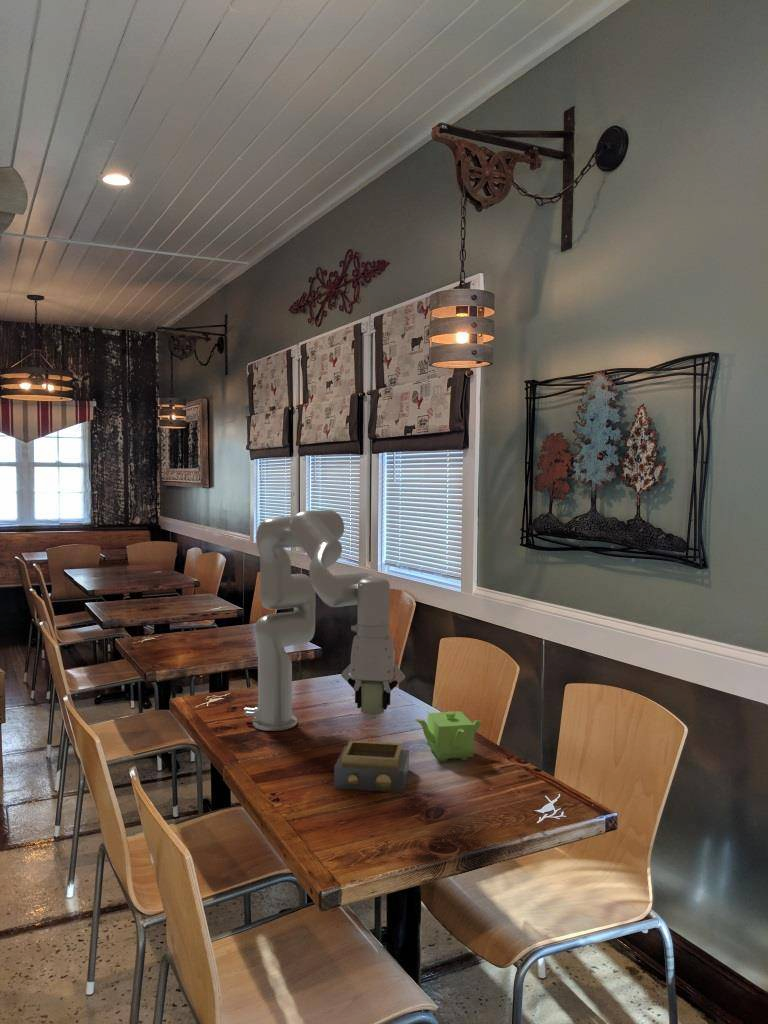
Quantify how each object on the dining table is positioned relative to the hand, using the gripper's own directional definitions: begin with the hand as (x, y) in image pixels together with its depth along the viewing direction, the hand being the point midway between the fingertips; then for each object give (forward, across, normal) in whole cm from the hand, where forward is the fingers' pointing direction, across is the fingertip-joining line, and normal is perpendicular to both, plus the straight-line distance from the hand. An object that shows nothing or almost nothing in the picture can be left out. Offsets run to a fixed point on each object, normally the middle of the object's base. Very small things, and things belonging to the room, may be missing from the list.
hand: (372, 706), depth 177 cm
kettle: (+18, +17, +17) cm, 30 cm away
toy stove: (+17, 0, 0) cm, 17 cm away
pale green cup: (+1, 0, 0) cm, 1 cm away
